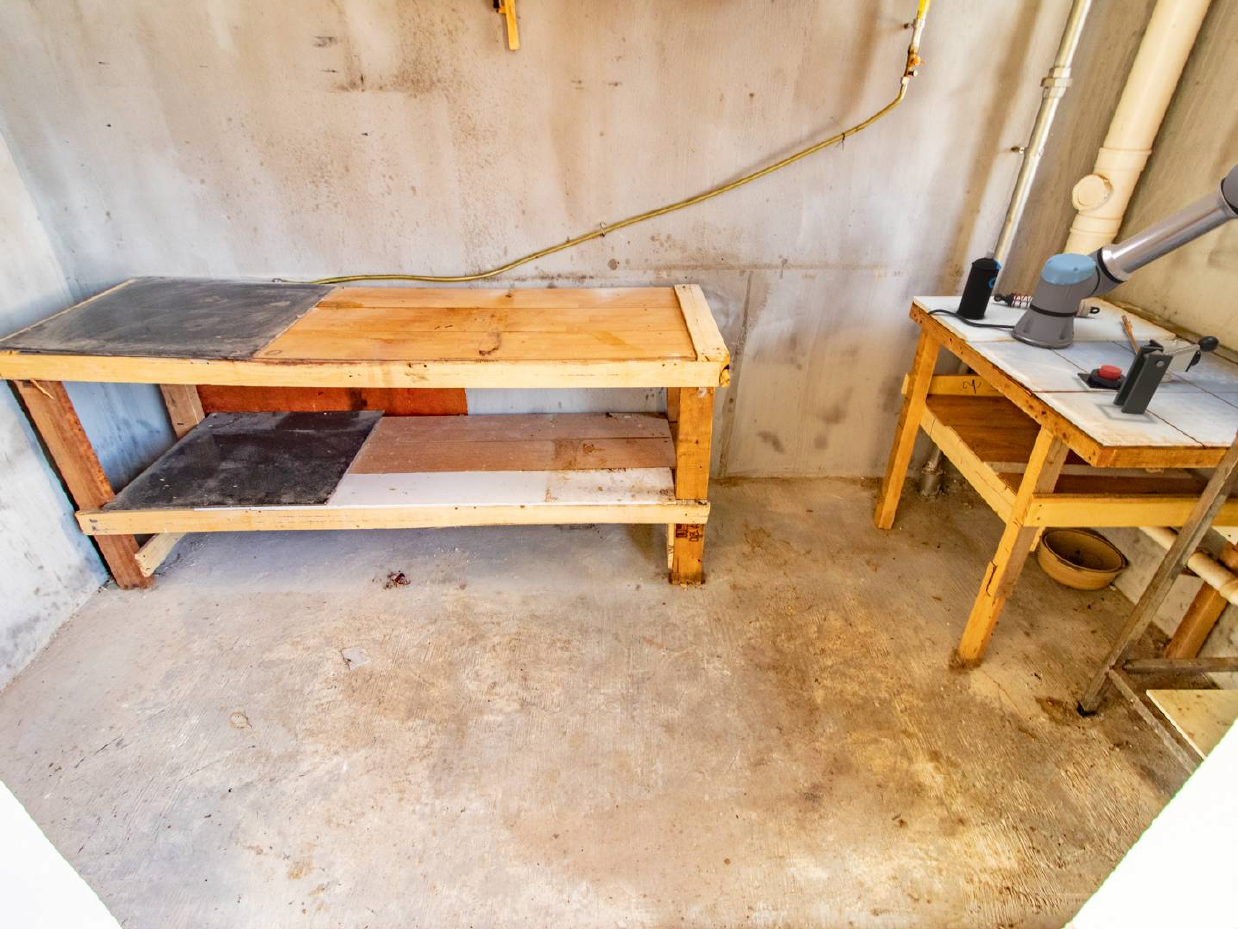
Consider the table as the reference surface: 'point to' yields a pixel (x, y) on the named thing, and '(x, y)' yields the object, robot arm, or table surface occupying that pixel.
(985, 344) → the table surface
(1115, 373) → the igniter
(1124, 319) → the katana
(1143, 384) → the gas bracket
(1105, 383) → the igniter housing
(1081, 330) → the table surface
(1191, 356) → the pneumatic valve
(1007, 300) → the shock absorber
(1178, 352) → the lever
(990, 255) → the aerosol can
